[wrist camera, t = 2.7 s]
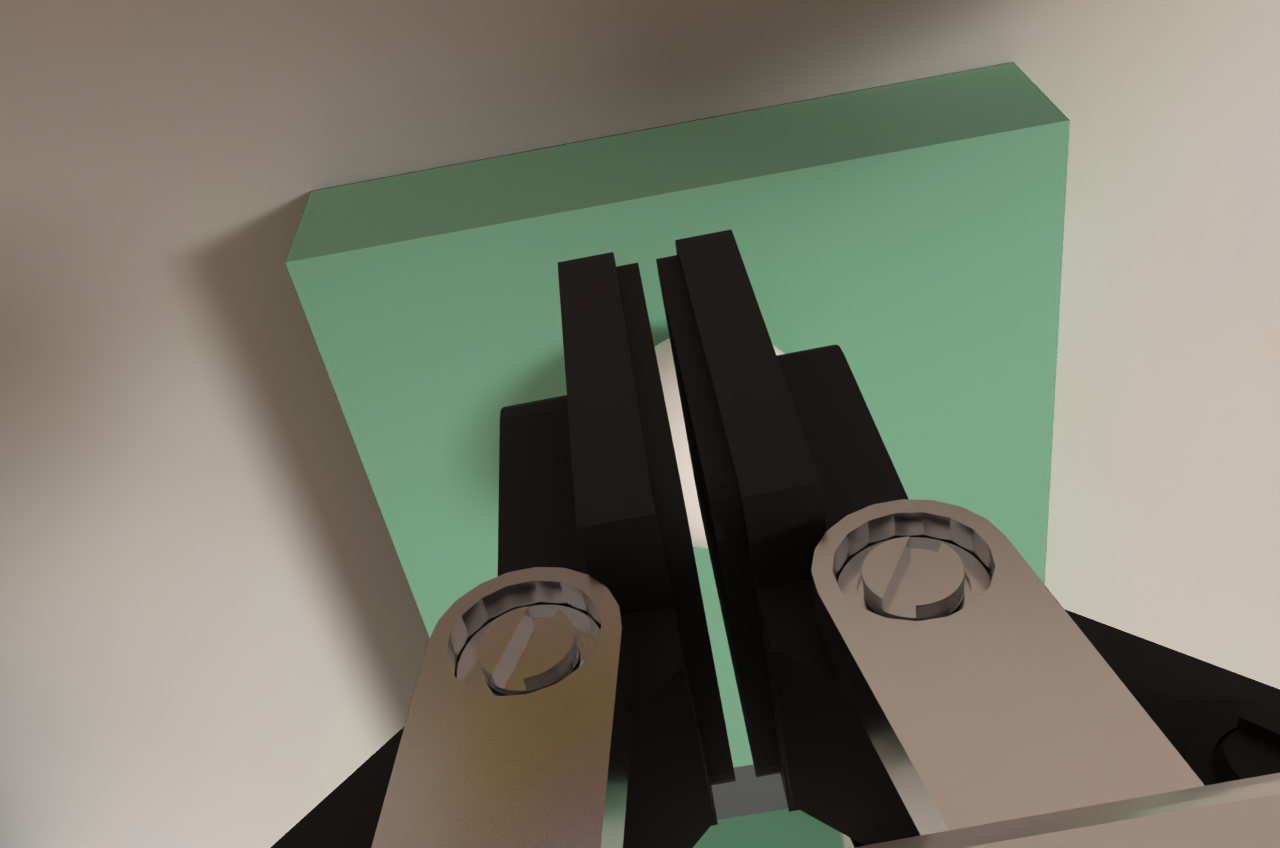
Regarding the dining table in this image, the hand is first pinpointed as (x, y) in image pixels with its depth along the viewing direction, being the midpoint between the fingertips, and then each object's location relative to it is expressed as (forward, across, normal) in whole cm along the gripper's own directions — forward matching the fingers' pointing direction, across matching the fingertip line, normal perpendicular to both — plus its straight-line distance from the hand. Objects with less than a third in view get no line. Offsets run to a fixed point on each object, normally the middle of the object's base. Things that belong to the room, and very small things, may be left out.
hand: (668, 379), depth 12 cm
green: (+13, -1, +14) cm, 19 cm away
